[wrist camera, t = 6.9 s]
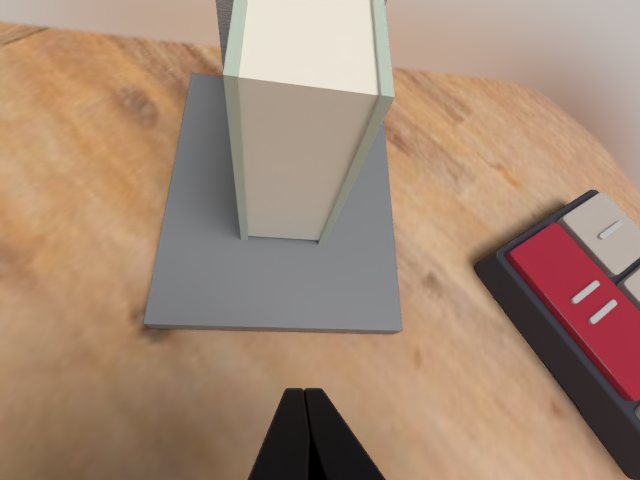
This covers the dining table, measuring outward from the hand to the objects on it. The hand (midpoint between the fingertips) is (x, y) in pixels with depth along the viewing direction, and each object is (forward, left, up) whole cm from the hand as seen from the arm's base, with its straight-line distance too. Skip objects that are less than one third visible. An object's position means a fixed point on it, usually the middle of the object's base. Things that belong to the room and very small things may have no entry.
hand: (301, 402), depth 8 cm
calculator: (-18, -13, -13) cm, 26 cm away
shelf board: (+5, -11, -12) cm, 17 cm away
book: (+6, -13, -11) cm, 18 cm away
